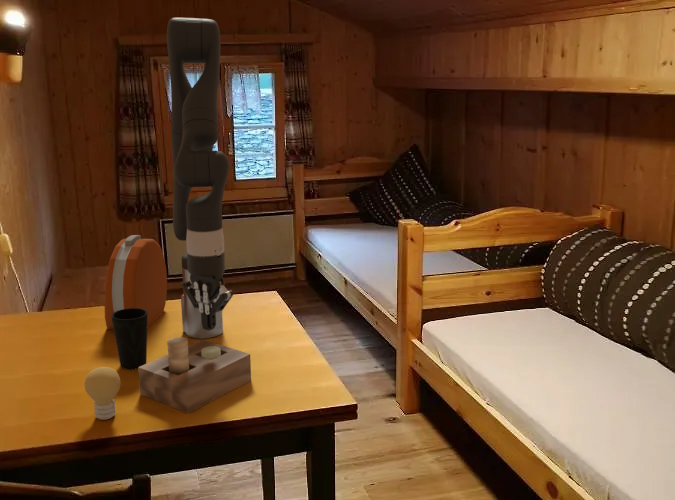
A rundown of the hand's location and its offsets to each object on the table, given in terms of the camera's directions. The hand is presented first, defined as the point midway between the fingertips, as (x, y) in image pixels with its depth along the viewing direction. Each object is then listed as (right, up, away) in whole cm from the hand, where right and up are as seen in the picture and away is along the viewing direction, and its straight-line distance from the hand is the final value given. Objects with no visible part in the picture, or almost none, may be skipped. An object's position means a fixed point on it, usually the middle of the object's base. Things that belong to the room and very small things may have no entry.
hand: (209, 328), depth 148 cm
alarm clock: (-26, -2, +37) cm, 46 cm away
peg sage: (0, -11, +3) cm, 12 cm away
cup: (-19, -9, +10) cm, 23 cm away
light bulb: (-17, -16, -13) cm, 27 cm away
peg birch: (-5, -8, -6) cm, 11 cm away
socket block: (-2, -12, -1) cm, 12 cm away
